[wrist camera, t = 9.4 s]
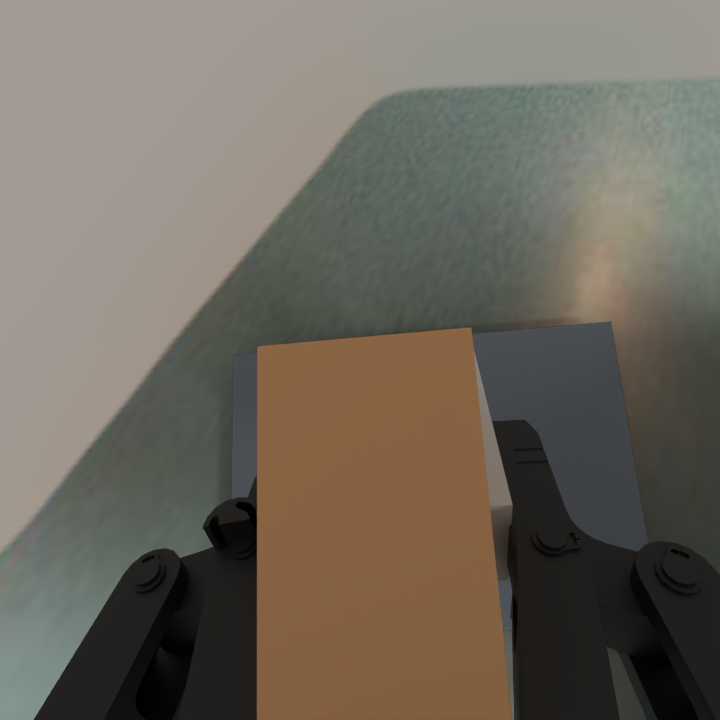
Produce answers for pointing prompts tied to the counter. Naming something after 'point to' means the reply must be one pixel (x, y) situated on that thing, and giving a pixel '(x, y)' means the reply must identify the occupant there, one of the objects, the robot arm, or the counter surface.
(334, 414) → the tan rectangular block
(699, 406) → the counter surface
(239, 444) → the header board
